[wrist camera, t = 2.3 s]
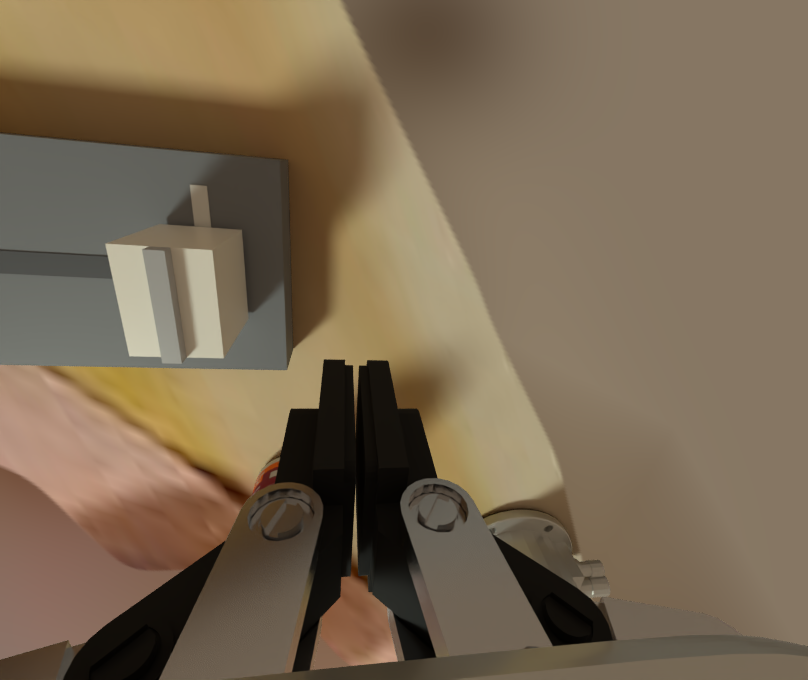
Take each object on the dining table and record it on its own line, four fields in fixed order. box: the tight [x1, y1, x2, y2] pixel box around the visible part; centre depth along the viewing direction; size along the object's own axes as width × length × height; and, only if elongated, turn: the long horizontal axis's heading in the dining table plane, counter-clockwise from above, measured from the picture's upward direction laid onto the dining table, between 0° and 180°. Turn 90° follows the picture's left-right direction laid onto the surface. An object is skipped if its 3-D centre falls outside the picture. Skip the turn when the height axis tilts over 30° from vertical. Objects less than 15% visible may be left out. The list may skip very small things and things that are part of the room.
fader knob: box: [105, 224, 249, 364], centre depth 19 cm, size 4×5×6 cm
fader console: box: [0, 132, 293, 370], centre depth 22 cm, size 22×12×3 cm, turn 84°
